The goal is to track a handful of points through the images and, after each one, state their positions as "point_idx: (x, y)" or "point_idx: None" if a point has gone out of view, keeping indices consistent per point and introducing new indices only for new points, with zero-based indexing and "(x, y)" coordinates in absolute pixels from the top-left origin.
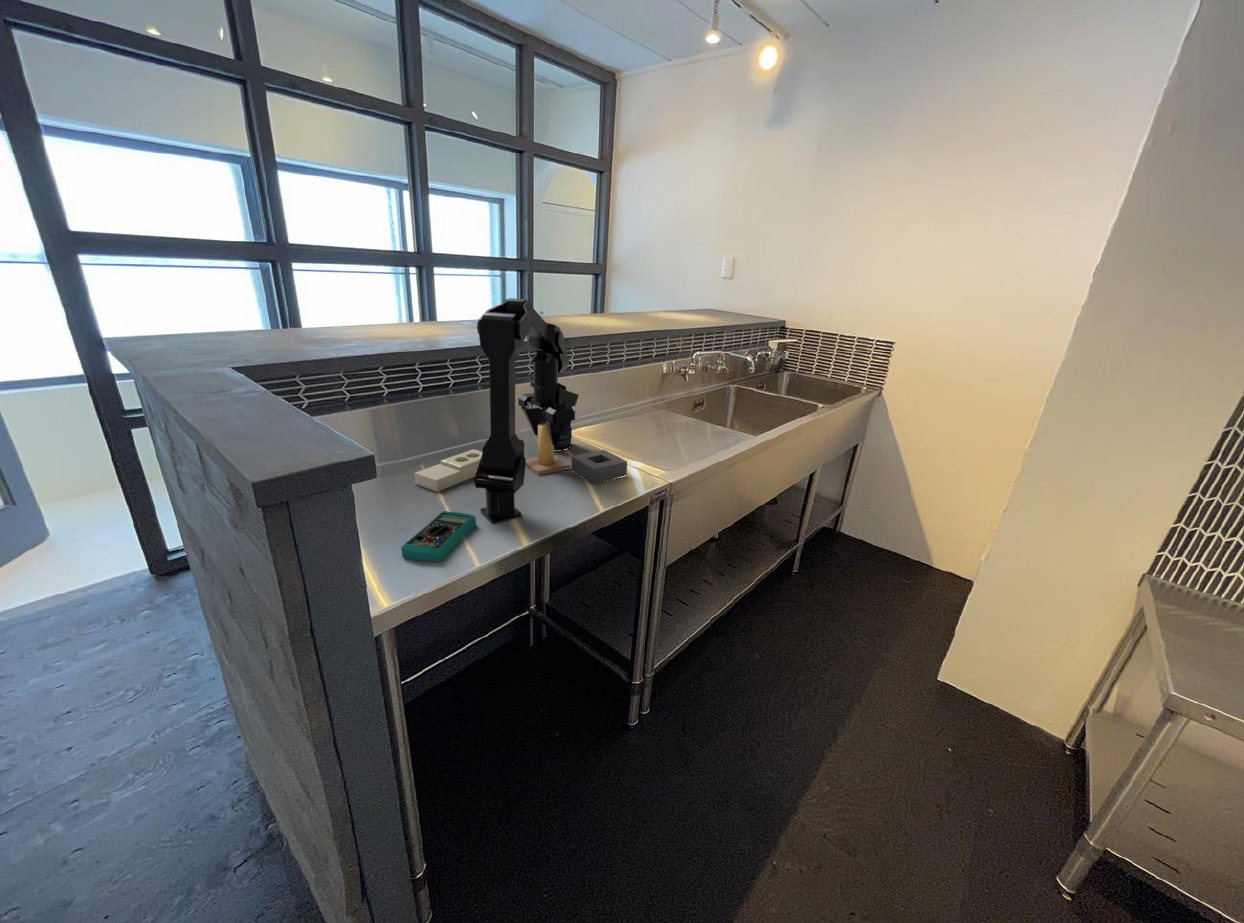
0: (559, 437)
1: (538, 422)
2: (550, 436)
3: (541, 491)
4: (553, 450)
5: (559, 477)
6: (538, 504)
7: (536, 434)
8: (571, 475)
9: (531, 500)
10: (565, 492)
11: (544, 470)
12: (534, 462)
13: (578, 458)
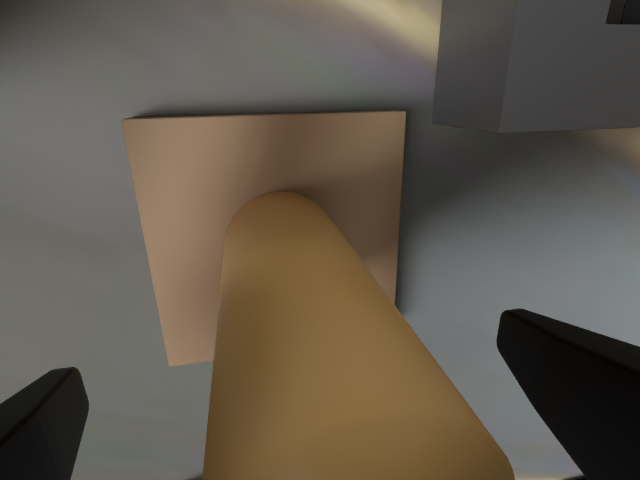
0: (626, 347)
1: None
2: (595, 466)
3: None
4: (349, 244)
5: (467, 235)
6: None
7: (85, 407)
8: (485, 159)
9: None
10: (614, 284)
11: (394, 302)
12: None
13: (571, 105)
